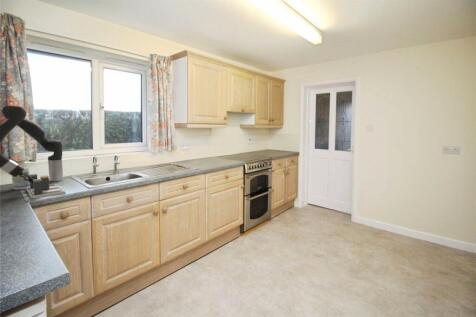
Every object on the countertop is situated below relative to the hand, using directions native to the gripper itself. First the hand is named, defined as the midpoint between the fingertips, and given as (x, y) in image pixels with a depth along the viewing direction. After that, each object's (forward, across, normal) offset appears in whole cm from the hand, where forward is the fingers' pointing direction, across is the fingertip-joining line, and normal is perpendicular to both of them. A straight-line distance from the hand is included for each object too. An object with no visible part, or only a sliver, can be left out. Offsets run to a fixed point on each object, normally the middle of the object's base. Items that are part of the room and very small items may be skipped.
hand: (38, 184), depth 172 cm
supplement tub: (-1, +22, +10) cm, 24 cm away
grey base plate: (+7, 0, +2) cm, 7 cm away
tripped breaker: (+5, 0, 0) cm, 5 cm away
